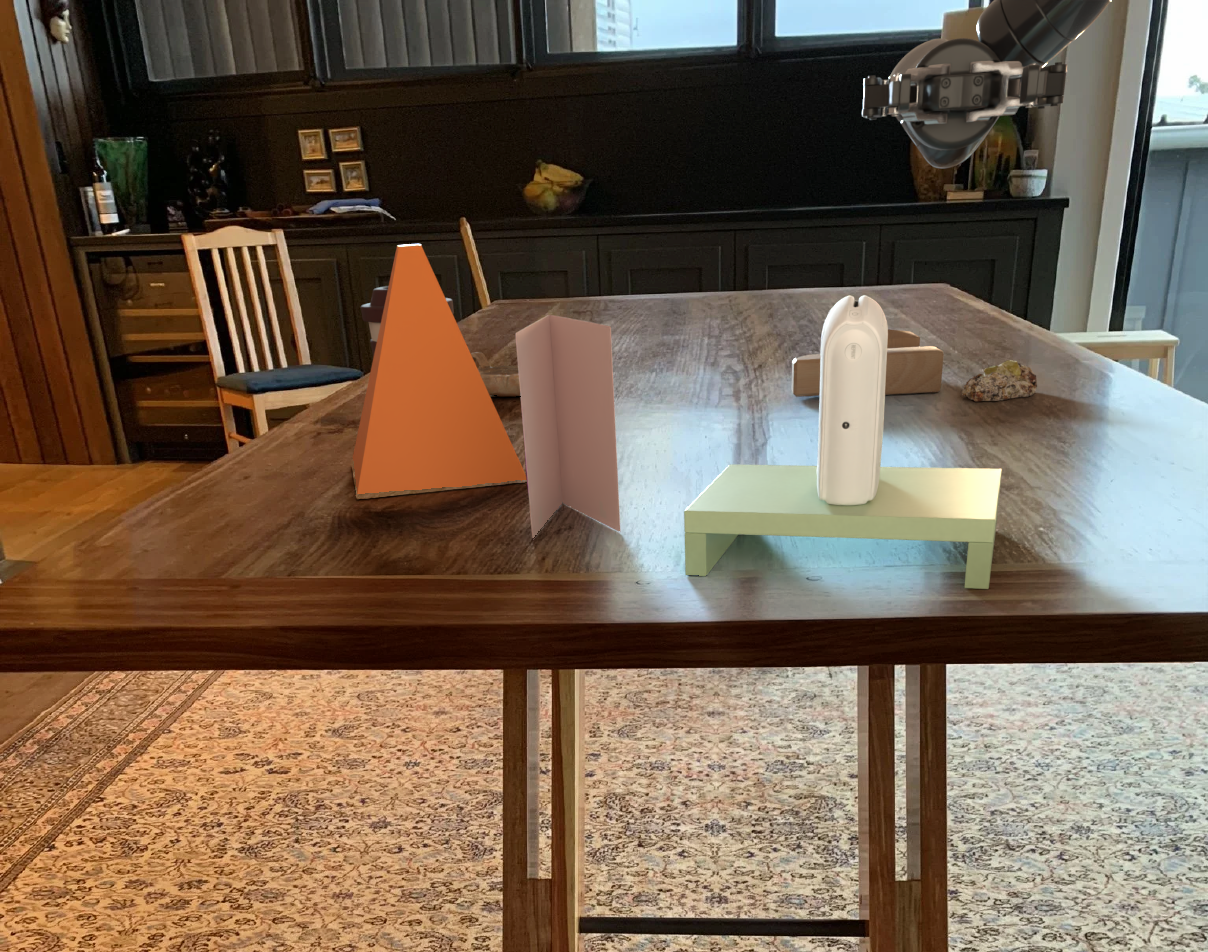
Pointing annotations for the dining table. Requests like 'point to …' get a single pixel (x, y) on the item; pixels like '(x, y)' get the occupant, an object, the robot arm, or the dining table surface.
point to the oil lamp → (498, 377)
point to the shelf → (847, 511)
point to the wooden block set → (904, 368)
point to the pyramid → (426, 396)
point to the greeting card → (568, 419)
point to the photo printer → (851, 401)
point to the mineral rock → (1001, 383)
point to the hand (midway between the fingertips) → (968, 87)
